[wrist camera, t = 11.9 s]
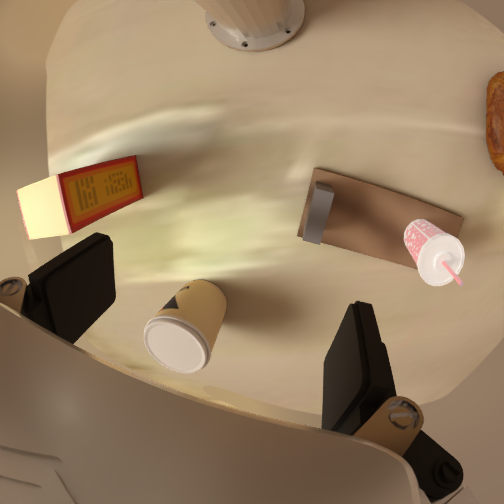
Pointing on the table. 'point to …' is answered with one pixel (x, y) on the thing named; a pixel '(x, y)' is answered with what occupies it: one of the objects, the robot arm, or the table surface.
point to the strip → (366, 217)
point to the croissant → (496, 120)
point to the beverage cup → (434, 252)
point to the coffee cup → (187, 327)
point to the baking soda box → (78, 197)
